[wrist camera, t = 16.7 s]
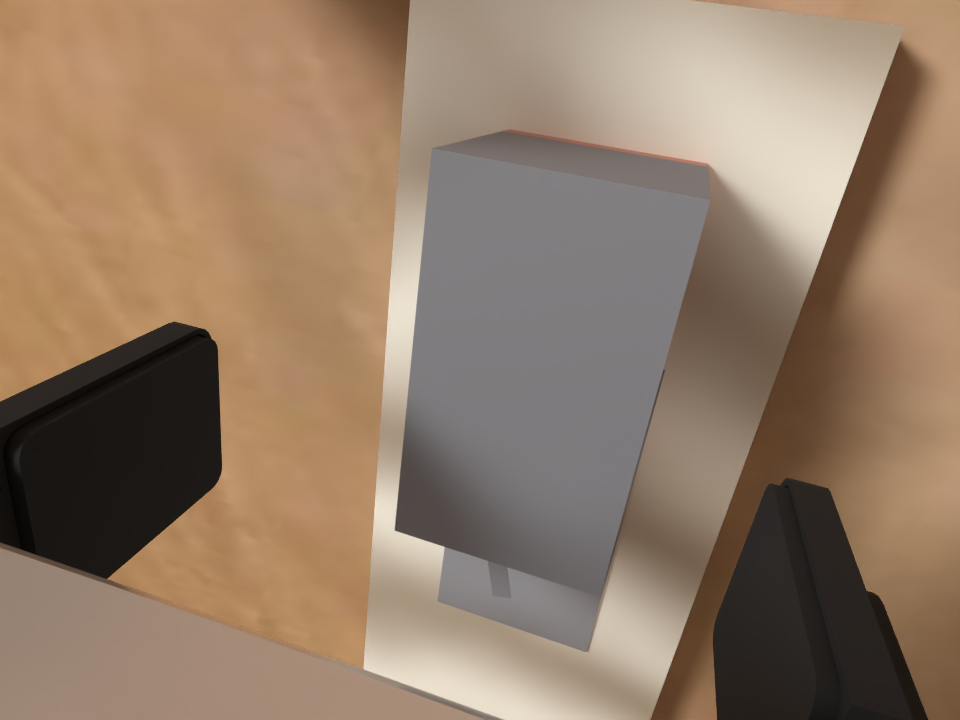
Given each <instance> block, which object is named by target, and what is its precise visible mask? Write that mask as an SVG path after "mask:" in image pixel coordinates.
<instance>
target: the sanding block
mask: <svg viewBox="0 0 960 720" xmlns="http://www.w3.org/2000/svg"><path fill="white" fill-rule="evenodd" d="M710 201H711V195H710V182H709V169H708V163H702V162H696V161H690V160H685V159H679V158H673V157H667V156H661V155H656V154H650V153H644V152H638V151H632V150H627V149H621V148H615V147H609V146H604V145H598V144H592V143H586V142H580V141H575V140H569V139H563V138H557V137H552V136H546V135H540V134H534V133H528V132H523V131H517V130H511V129H509V130H505V131H501V132H497V133H492V134H488V135H484V136H480V137H476V138H472V139H468V140H464V141H460V142H456V143H452V144H448V145H444V146H439V147H435V148H432V152H431V162H430V172H429V183H428V193H427V203H426V213H425V224H424V234H423V244H422V254H421V264H420V275H419V285H418V295H417V305H416V316H415V326H414V336H413V346H412V356H411V367H410V377H409V387H408V397H407V408H406V418H405V428H404V438H403V448H402V459H401V469H400V479H399V489H398V500H397V510H396V520H395V530H394V531H397V532H400V533H403V534H406V535H409V536H412V537H416V538H419V539H422V540H425V541H428V542H431V543H434V544H437V545H440V546H443V547H446V548H450V549H453V550H456V551H459V552H462V553H465V554H468V555H471V556H474V557H477V558H480V559H484V560H487V561H490V562H493V563H496V564H499V565H502V566H505V567H508V568H511V569H514V570H518V571H521V572H524V573H527V574H530V575H533V576H536V577H539V578H542V579H545V580H548V581H551V582H555V583H558V584H561V585H564V586H567V587H570V588H573V589H576V590H579V591H582V592H585V593H589V594H592V595H595V596H598V597H600V594H601V591H602V587H603V584H604V580H605V576H606V573H607V569H608V566H609V562H610V559H611V555H612V551H613V548H614V544H615V541H616V537H617V534H618V530H619V526H620V523H621V519H622V516H623V512H624V508H625V505H626V501H627V498H628V494H629V491H630V487H631V483H632V480H633V476H634V473H635V469H636V466H637V462H638V458H639V455H640V451H641V448H642V444H643V441H644V437H645V433H646V430H647V426H648V423H649V419H650V416H651V412H652V408H653V405H654V401H655V398H656V394H657V391H658V387H659V383H660V380H661V376H662V373H663V369H664V366H665V362H666V358H667V355H668V351H669V348H670V344H671V341H672V337H673V333H674V330H675V326H676V323H677V319H678V315H679V312H680V308H681V305H682V301H683V298H684V294H685V290H686V287H687V283H688V280H689V276H690V273H691V269H692V265H693V262H694V258H695V255H696V251H697V248H698V244H699V240H700V237H701V233H702V230H703V226H704V223H705V219H706V215H707V212H708V208H709V205H710Z"/></svg>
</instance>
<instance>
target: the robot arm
mask: <svg viewBox="0 0 960 720" xmlns="http://www.w3.org/2000/svg"><path fill="white" fill-rule="evenodd" d="M221 471H222V454H221V426H220V399H219V371H218V349H217V345H216V342H215V341H214V340H212V339H211V336H210V334H209V332H207V331H206V330H205V329H201V328H197V327H193V326H190V325H186V324H182V323H177V322H172V323H168V324H166V325H164V326H162V327H160V328H158V329H156V330H153V331H151V332H149V333H147V334H145V335H143V336H140V337H138V338H136V339H134V340H132V341H130V342H128V343H125V344H123V345H121V346H119V347H117V348H115V349H113V350H110V351H108V352H106V353H104V354H102V355H100V356H97V357H95V358H93V359H91V360H89V361H87V362H85V363H82V364H80V365H78V366H76V367H74V368H72V369H69V370H67V371H65V372H63V373H61V374H59V375H57V376H54V377H52V378H50V379H48V380H46V381H44V382H42V383H39V384H37V385H35V386H33V387H31V388H29V389H26V390H24V391H22V392H20V393H18V394H16V395H14V396H11V397H9V398H7V399H5V400H3V401H1V402H0V720H504V719H501V718H498V717H495V716H492V715H490V714H487V713H484V712H481V711H478V710H476V709H473V708H470V707H467V706H465V705H462V704H459V703H456V702H453V701H451V700H448V699H445V698H442V697H439V696H437V695H434V694H431V693H428V692H425V691H423V690H420V689H417V688H414V687H412V686H409V685H406V684H403V683H400V682H398V681H395V680H392V679H389V678H386V677H384V676H381V675H378V674H375V673H372V672H370V671H367V670H364V669H361V668H359V667H356V666H353V665H350V664H347V663H344V662H342V661H339V660H336V659H333V658H330V657H327V656H325V655H322V654H319V653H316V652H313V651H310V650H308V649H305V648H302V647H299V646H296V645H293V644H291V643H288V642H285V641H282V640H279V639H276V638H274V637H271V636H268V635H265V634H262V633H259V632H257V631H254V630H251V629H248V628H245V627H242V626H240V625H237V624H234V623H231V622H228V621H225V620H222V619H220V618H217V617H214V616H211V615H208V614H205V613H202V612H200V611H197V610H194V609H191V608H188V607H185V606H183V605H180V604H177V603H174V602H171V601H168V600H165V599H163V598H160V597H157V596H154V595H151V594H148V593H145V592H142V591H139V590H137V589H134V588H131V587H128V586H125V585H122V584H119V583H116V582H113V581H110V580H108V579H107V578H109V577H110V576H111V575H112V574H113V573H114V572H115V571H117V570H118V569H119V568H120V567H121V566H122V565H124V564H125V563H126V562H127V561H128V560H129V559H131V558H132V557H133V556H134V555H135V554H136V553H138V552H139V551H140V550H141V549H142V548H143V547H145V546H146V545H147V544H148V543H149V542H150V541H152V540H153V539H154V538H155V537H156V536H157V535H159V534H160V533H161V532H162V531H163V530H164V529H166V528H167V527H168V526H169V525H170V524H171V523H173V522H174V521H175V520H176V519H177V518H178V517H180V516H181V515H182V514H183V513H184V512H185V511H187V510H188V509H189V508H190V507H191V506H192V505H193V504H195V503H196V502H197V501H198V500H199V499H200V498H202V497H203V496H204V495H205V494H206V493H207V492H209V491H210V490H211V489H212V488H213V487H214V486H215V485H216V483H217V482H218V480H219V478H220V475H221ZM713 651H714V670H715V688H716V706H717V720H928V718H927V716H926V713H925V710H924V708H923V705H922V703H921V700H920V697H919V695H918V692H917V690H916V687H915V685H914V682H913V679H912V677H911V674H910V672H909V669H908V666H907V664H906V661H905V659H904V656H903V654H902V651H901V648H900V646H899V643H898V641H897V638H896V635H895V633H894V630H893V628H892V625H891V623H890V620H889V617H888V615H887V612H886V610H885V607H884V605H883V603H882V601H881V599H880V598H879V596H877V595H876V594H874V593H872V592H869V591H866V588H865V586H864V583H863V580H862V577H861V575H860V572H859V569H858V566H857V564H856V561H855V558H854V555H853V553H852V550H851V547H850V544H849V542H848V539H847V536H846V533H845V531H844V528H843V525H842V522H841V520H840V517H839V514H838V511H837V509H836V506H835V503H834V500H833V498H832V495H831V492H830V491H829V489H828V488H825V487H821V486H817V485H813V484H809V483H805V482H801V481H797V480H793V479H789V478H787V479H785V480H784V481H783V482H782V484H781V486H778V485H774V484H769V485H768V487H767V488H766V490H765V492H764V495H763V498H762V500H761V503H760V505H759V508H758V511H757V513H756V516H755V518H754V521H753V524H752V526H751V529H750V532H749V534H748V537H747V539H746V542H745V545H744V547H743V550H742V552H741V555H740V558H739V560H738V563H737V565H736V568H735V571H734V573H733V576H732V579H731V581H730V584H729V586H728V589H727V592H726V594H725V597H724V599H723V602H722V605H721V607H720V610H719V613H718V615H717V618H716V622H715V626H714V633H713Z"/></svg>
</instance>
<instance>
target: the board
mask: <svg viewBox="0 0 960 720" xmlns="http://www.w3.org/2000/svg"><path fill="white" fill-rule="evenodd" d="M904 28H905V26H900V25H891V24H883V23H875V22H866V21H858V20H850V19H841V18H833V17H825V16H817V15H808V14H800V13H792V12H783V11H775V10H767V9H758V8H750V7H742V6H733V5H725V4H717V3H708V2H700V1H692V0H410V9H409V24H408V38H407V52H406V67H405V81H404V95H403V110H402V124H401V139H400V153H399V167H398V182H397V196H396V210H395V225H394V239H393V253H392V268H391V282H390V296H389V311H388V325H387V339H386V354H385V368H384V383H383V397H382V411H381V426H380V440H379V454H378V469H377V483H376V497H375V512H374V526H373V540H372V555H371V569H370V583H369V598H368V612H367V626H366V641H365V655H364V670H367V671H370V672H372V673H375V674H378V675H381V676H384V677H386V678H389V679H392V680H395V681H398V682H400V683H403V684H406V685H409V686H412V687H414V688H417V689H420V690H423V691H425V692H428V693H431V694H434V695H437V696H439V697H442V698H445V699H448V700H451V701H453V702H456V703H459V704H462V705H465V706H467V707H470V708H473V709H476V710H478V711H481V712H484V713H487V714H490V715H492V716H495V717H498V718H501V719H504V720H650V719H651V717H652V714H653V711H654V708H655V706H656V703H657V700H658V697H659V695H660V692H661V689H662V687H663V684H664V681H665V678H666V676H667V673H668V670H669V668H670V665H671V662H672V659H673V657H674V654H675V651H676V649H677V646H678V643H679V640H680V638H681V635H682V632H683V629H684V627H685V624H686V621H687V619H688V616H689V613H690V610H691V608H692V605H693V602H694V600H695V597H696V594H697V591H698V589H699V586H700V583H701V580H702V578H703V575H704V572H705V570H706V567H707V564H708V561H709V559H710V556H711V553H712V551H713V548H714V545H715V542H716V540H717V537H718V534H719V532H720V529H721V526H722V523H723V521H724V518H725V515H726V512H727V510H728V507H729V504H730V502H731V499H732V496H733V493H734V491H735V488H736V485H737V483H738V480H739V477H740V474H741V472H742V469H743V466H744V464H745V461H746V458H747V455H748V453H749V450H750V447H751V444H752V442H753V439H754V436H755V434H756V431H757V428H758V425H759V423H760V420H761V417H762V415H763V412H764V409H765V406H766V404H767V401H768V398H769V395H770V393H771V390H772V387H773V385H774V382H775V379H776V376H777V374H778V371H779V368H780V366H781V363H782V360H783V357H784V355H785V352H786V349H787V347H788V344H789V341H790V338H791V336H792V333H793V330H794V327H795V325H796V322H797V319H798V317H799V314H800V311H801V308H802V306H803V303H804V300H805V298H806V295H807V292H808V289H809V287H810V284H811V281H812V278H813V276H814V273H815V270H816V268H817V265H818V262H819V259H820V257H821V254H822V251H823V249H824V246H825V243H826V240H827V238H828V235H829V232H830V230H831V227H832V224H833V221H834V219H835V216H836V213H837V210H838V208H839V205H840V202H841V200H842V197H843V194H844V191H845V189H846V186H847V183H848V181H849V178H850V175H851V172H852V170H853V167H854V164H855V161H856V159H857V156H858V153H859V151H860V148H861V145H862V142H863V140H864V137H865V134H866V132H867V129H868V126H869V123H870V121H871V118H872V115H873V113H874V110H875V107H876V104H877V102H878V99H879V96H880V93H881V91H882V88H883V85H884V83H885V80H886V77H887V74H888V72H889V69H890V66H891V64H892V61H893V58H894V55H895V53H896V50H897V47H898V44H899V42H900V39H901V36H902V34H903V31H904ZM509 129H511V130H517V131H523V132H528V133H534V134H540V135H546V136H552V137H557V138H563V139H569V140H575V141H580V142H586V143H592V144H598V145H604V146H609V147H615V148H621V149H627V150H632V151H638V152H644V153H650V154H656V155H661V156H667V157H673V158H679V159H685V160H690V161H696V162H702V163H708V169H709V182H710V195H711V201H710V205H709V208H708V212H707V215H706V219H705V223H704V226H703V230H702V233H701V237H700V240H699V244H698V248H697V251H696V255H695V258H694V262H693V265H692V269H691V273H690V276H689V280H688V283H687V287H686V290H685V294H684V298H683V301H682V305H681V308H680V312H679V315H678V319H677V323H676V326H675V330H674V333H673V337H672V341H671V344H670V348H669V351H668V355H667V358H666V362H665V366H664V369H663V373H662V376H661V380H660V383H659V387H658V391H657V394H656V398H655V401H654V405H653V408H652V412H651V416H650V419H649V423H648V426H647V430H646V433H645V437H644V441H643V444H642V448H641V451H640V455H639V458H638V462H637V466H636V469H635V473H634V476H633V480H632V483H631V487H630V491H629V494H628V498H627V501H626V505H625V508H624V512H623V516H622V519H621V523H620V526H619V530H618V534H617V537H616V541H615V544H614V548H613V551H612V555H611V559H610V562H609V566H608V569H607V573H606V576H605V580H604V584H603V587H602V591H601V594H600V597H598V596H595V595H592V594H589V593H585V592H582V591H579V590H576V589H573V588H570V587H567V586H564V585H561V584H558V583H555V582H551V581H548V580H545V579H542V578H539V577H536V576H533V575H530V574H527V573H524V572H521V571H518V570H514V569H511V568H508V567H505V566H502V565H499V564H496V563H493V562H490V561H487V560H484V559H480V558H477V557H474V556H471V555H468V554H465V553H462V552H459V551H456V550H453V549H450V548H446V547H443V546H440V545H437V544H434V543H431V542H428V541H425V540H422V539H419V538H416V537H412V536H409V535H406V534H403V533H400V532H397V531H394V530H395V520H396V510H397V500H398V489H399V479H400V469H401V459H402V448H403V438H404V428H405V418H406V408H407V397H408V387H409V377H410V367H411V356H412V346H413V336H414V326H415V316H416V305H417V295H418V285H419V275H420V264H421V254H422V244H423V234H424V224H425V213H426V203H427V193H428V183H429V172H430V162H431V152H432V148H435V147H439V146H444V145H448V144H452V143H456V142H460V141H464V140H468V139H472V138H476V137H480V136H484V135H488V134H492V133H497V132H501V131H505V130H509Z"/></svg>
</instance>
